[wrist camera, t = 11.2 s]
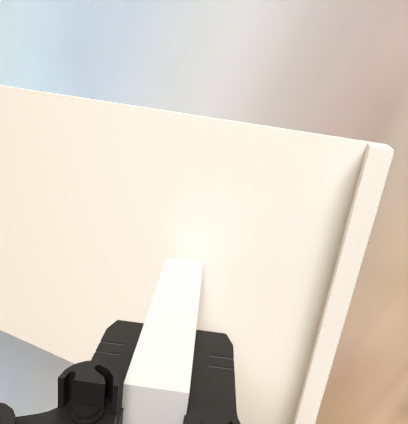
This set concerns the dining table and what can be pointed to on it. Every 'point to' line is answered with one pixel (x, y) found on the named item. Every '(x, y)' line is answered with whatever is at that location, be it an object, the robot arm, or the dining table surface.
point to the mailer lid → (184, 234)
